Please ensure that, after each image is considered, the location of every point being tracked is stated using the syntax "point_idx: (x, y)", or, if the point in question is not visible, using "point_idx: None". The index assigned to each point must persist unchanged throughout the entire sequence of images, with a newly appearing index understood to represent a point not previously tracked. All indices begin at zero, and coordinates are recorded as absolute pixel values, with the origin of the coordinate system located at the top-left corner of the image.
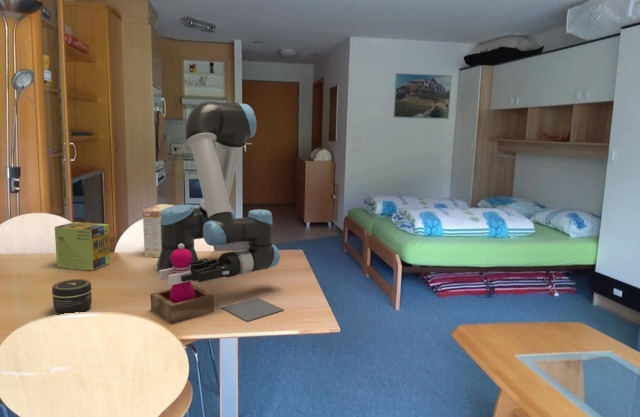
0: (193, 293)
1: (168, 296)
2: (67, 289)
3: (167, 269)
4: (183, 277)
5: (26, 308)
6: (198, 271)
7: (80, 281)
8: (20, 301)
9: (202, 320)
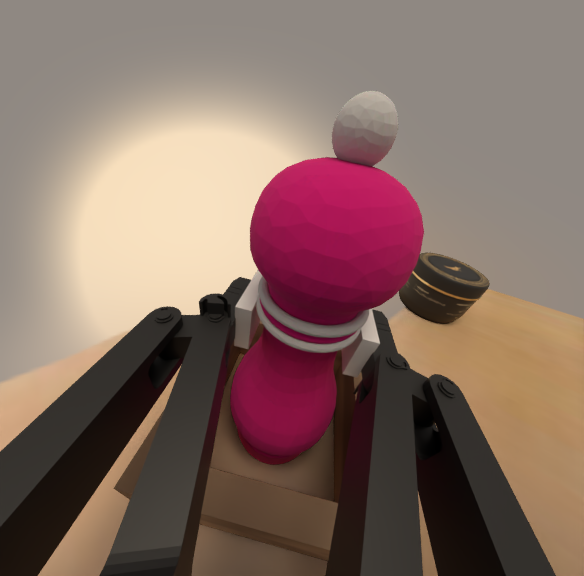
0: (235, 401)
1: (347, 391)
2: (421, 254)
3: None
4: (237, 281)
5: None
6: (195, 336)
7: (468, 277)
8: (486, 295)
9: None
